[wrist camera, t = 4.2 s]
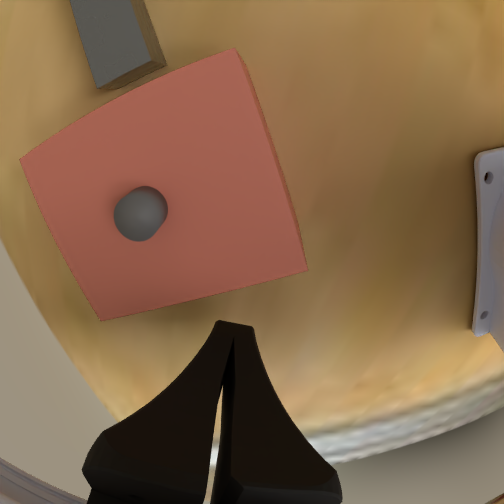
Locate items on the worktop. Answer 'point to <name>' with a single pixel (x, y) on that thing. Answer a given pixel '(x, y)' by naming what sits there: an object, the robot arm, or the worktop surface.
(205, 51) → the worktop surface
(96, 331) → the worktop surface
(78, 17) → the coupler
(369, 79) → the worktop surface
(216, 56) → the lock
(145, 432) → the robot arm
